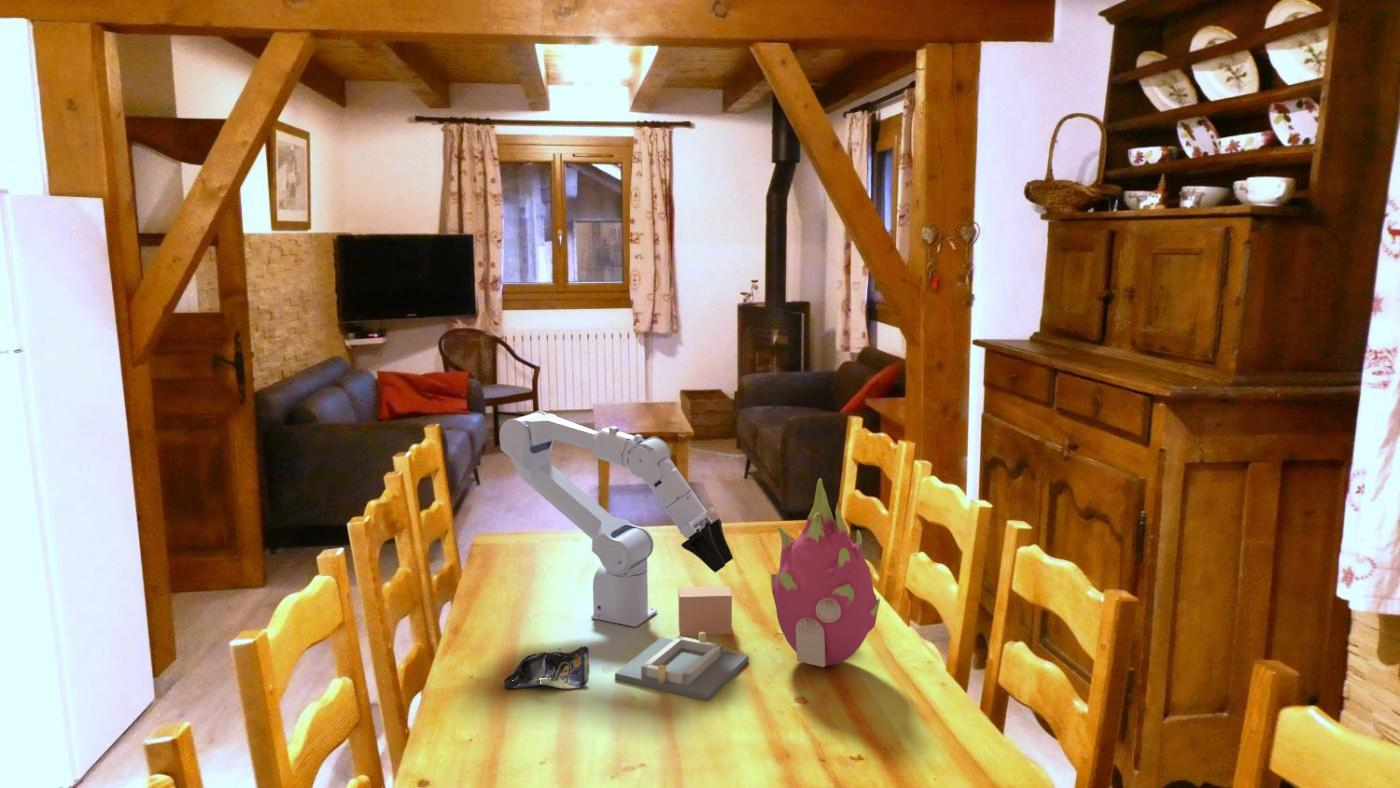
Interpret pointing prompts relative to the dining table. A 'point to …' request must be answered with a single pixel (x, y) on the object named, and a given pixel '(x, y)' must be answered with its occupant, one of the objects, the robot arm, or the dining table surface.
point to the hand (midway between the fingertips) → (724, 565)
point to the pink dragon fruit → (824, 589)
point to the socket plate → (683, 667)
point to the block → (705, 610)
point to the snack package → (552, 669)
